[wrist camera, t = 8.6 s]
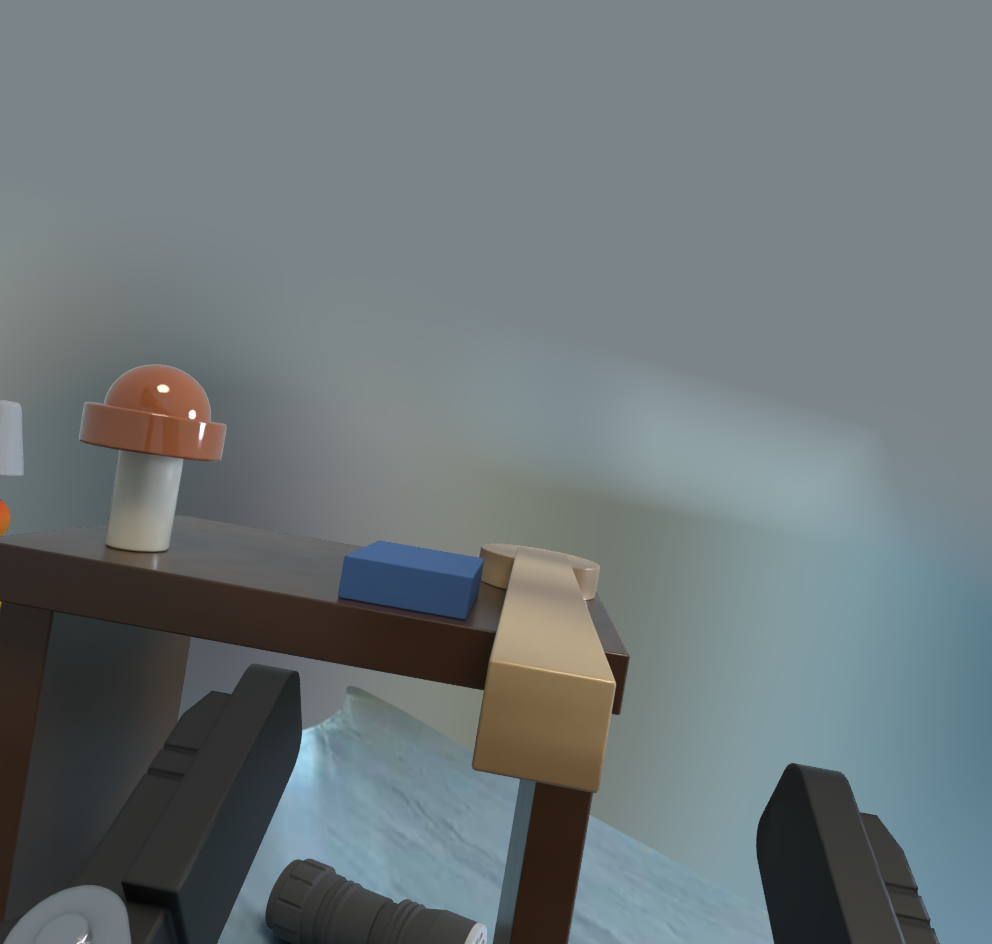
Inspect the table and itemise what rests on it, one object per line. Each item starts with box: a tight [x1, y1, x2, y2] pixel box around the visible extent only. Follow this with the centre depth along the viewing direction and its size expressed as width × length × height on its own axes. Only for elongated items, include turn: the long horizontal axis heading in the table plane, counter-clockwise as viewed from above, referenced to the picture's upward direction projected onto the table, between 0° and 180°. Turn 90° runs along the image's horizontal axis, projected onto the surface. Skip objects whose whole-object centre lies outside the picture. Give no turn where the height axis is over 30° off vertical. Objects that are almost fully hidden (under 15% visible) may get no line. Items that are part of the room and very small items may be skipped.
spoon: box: [472, 544, 616, 793], centre depth 19 cm, size 19×5×2 cm, turn 177°
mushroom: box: [79, 364, 227, 552], centre depth 22 cm, size 4×4×6 cm
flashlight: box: [265, 859, 487, 944], centre depth 49 cm, size 15×5×5 cm, turn 71°
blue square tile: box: [338, 541, 484, 620], centre depth 21 cm, size 4×4×1 cm
